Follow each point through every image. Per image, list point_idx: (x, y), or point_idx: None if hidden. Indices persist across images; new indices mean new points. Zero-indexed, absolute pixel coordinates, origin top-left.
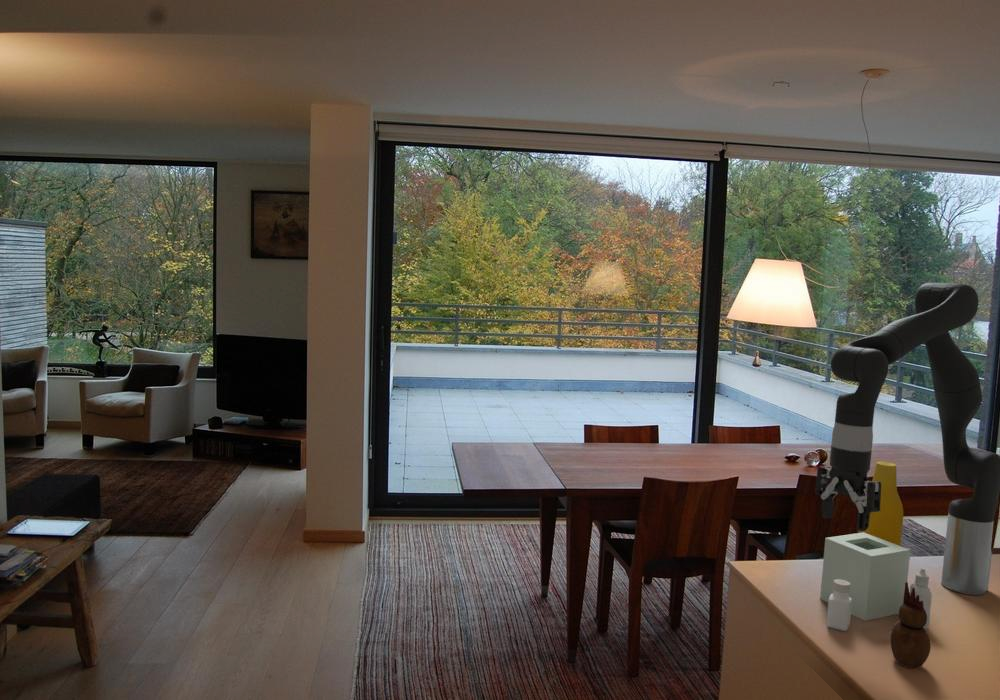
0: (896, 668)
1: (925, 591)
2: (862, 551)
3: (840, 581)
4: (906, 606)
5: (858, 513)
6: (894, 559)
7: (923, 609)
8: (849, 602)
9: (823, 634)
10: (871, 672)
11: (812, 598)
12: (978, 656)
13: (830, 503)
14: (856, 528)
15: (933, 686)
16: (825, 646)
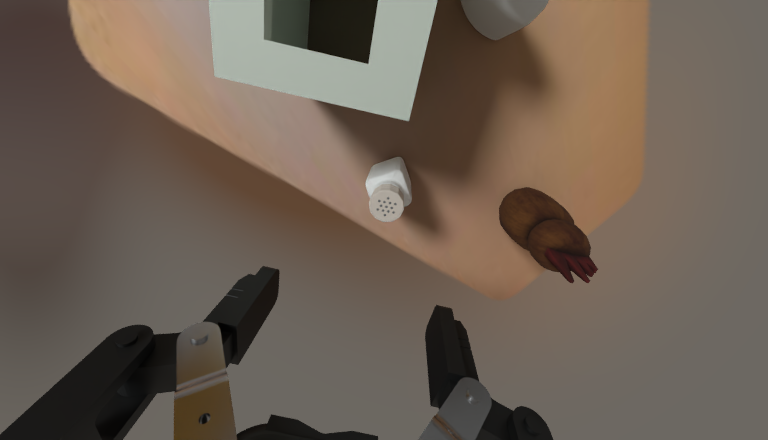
0: None
1: (536, 5)
2: (366, 99)
3: (382, 205)
4: (555, 268)
5: (435, 401)
6: None
7: (590, 259)
8: (410, 198)
9: None
10: (489, 266)
11: None
12: (621, 64)
13: (245, 333)
14: (426, 338)
15: None
16: (415, 249)
